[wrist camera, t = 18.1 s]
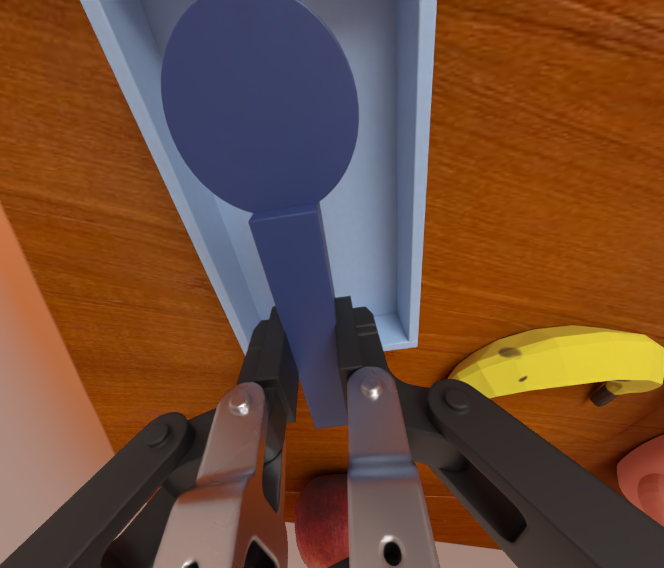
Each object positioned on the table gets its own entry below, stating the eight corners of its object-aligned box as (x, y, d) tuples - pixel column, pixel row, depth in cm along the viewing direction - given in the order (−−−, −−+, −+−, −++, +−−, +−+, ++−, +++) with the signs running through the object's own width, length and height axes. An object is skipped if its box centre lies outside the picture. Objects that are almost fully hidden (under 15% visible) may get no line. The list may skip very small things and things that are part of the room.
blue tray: (118, -30, 10) (36, -91, 7) (408, -85, 10) (447, -174, 7) (260, 332, 20) (250, 369, 17) (403, 313, 20) (417, 347, 17)
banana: (444, 400, 19) (463, 452, 29) (751, 332, 15) (654, 419, 24) (424, 347, 22) (447, 409, 32) (670, 280, 18) (613, 374, 28)
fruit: (391, 468, 34) (414, 583, 26) (347, 496, 38) (356, 602, 30) (321, 449, 31) (323, 574, 22) (282, 482, 35) (271, 598, 27)
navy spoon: (163, 30, 6) (91, -9, 4) (341, -3, 6) (352, -59, 4) (291, 387, 14) (287, 432, 12) (373, 376, 14) (382, 421, 12)
